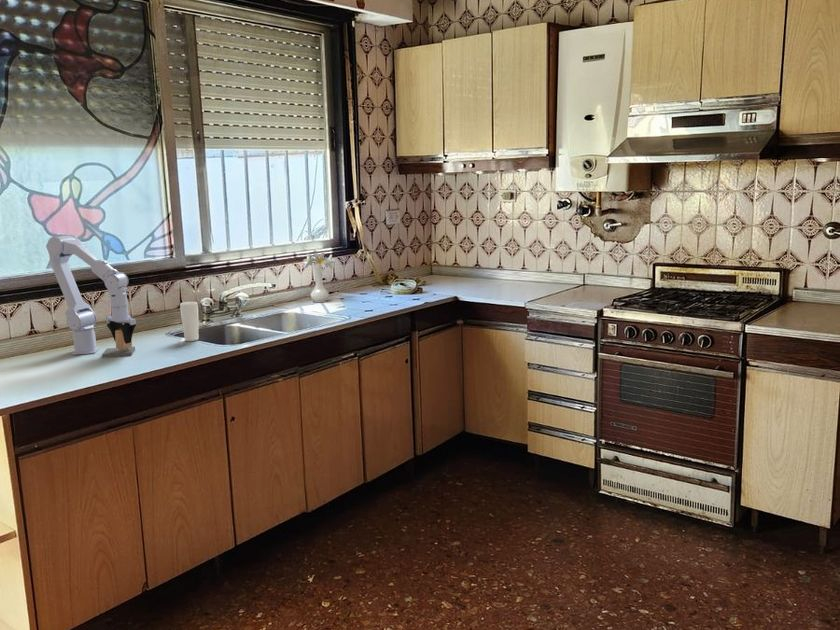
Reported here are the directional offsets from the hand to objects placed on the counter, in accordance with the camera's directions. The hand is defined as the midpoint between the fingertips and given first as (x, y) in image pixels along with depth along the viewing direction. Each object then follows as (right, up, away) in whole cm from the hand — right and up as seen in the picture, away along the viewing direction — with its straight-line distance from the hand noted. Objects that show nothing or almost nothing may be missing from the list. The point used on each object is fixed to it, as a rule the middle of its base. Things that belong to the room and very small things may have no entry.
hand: (123, 342), depth 274 cm
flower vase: (+59, +17, +105) cm, 121 cm away
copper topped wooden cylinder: (0, -2, +1) cm, 2 cm away
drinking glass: (+19, 0, +21) cm, 28 cm away
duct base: (-2, -4, +1) cm, 5 cm away
